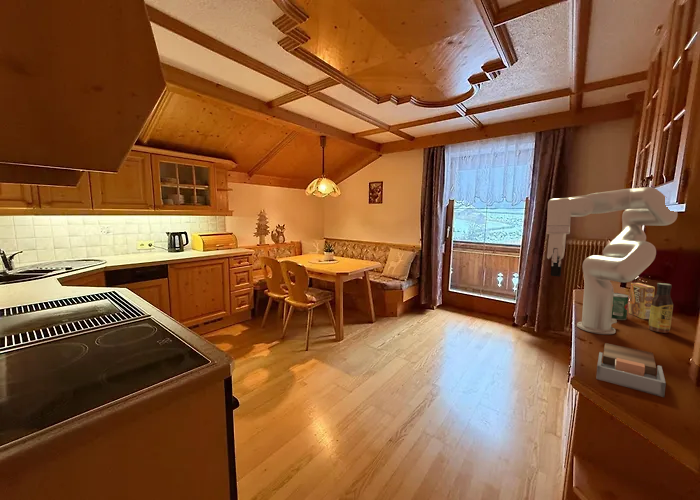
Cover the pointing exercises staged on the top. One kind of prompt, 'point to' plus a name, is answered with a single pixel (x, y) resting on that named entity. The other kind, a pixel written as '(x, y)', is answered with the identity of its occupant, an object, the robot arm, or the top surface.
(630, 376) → the tray
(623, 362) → the terracotta tile
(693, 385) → the top surface
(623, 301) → the canned tomato
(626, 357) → the walnut board
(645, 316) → the candy box
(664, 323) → the sauce bottle
